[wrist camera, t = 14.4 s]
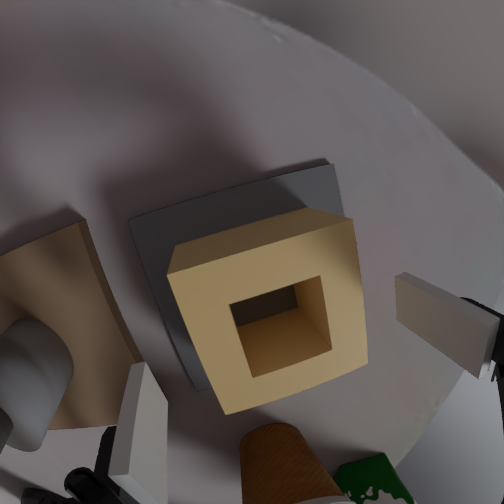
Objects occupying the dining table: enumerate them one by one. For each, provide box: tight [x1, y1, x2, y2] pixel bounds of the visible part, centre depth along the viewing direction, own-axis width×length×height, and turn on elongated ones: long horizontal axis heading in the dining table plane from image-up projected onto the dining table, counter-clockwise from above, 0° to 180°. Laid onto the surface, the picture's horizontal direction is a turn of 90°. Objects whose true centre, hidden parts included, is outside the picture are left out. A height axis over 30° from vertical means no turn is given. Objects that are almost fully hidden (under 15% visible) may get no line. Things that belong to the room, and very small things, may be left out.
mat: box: [128, 163, 344, 392], centre depth 20 cm, size 14×14×1 cm
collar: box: [167, 207, 368, 415], centre depth 17 cm, size 9×9×6 cm
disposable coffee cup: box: [240, 424, 356, 504], centre depth 19 cm, size 10×10×12 cm
